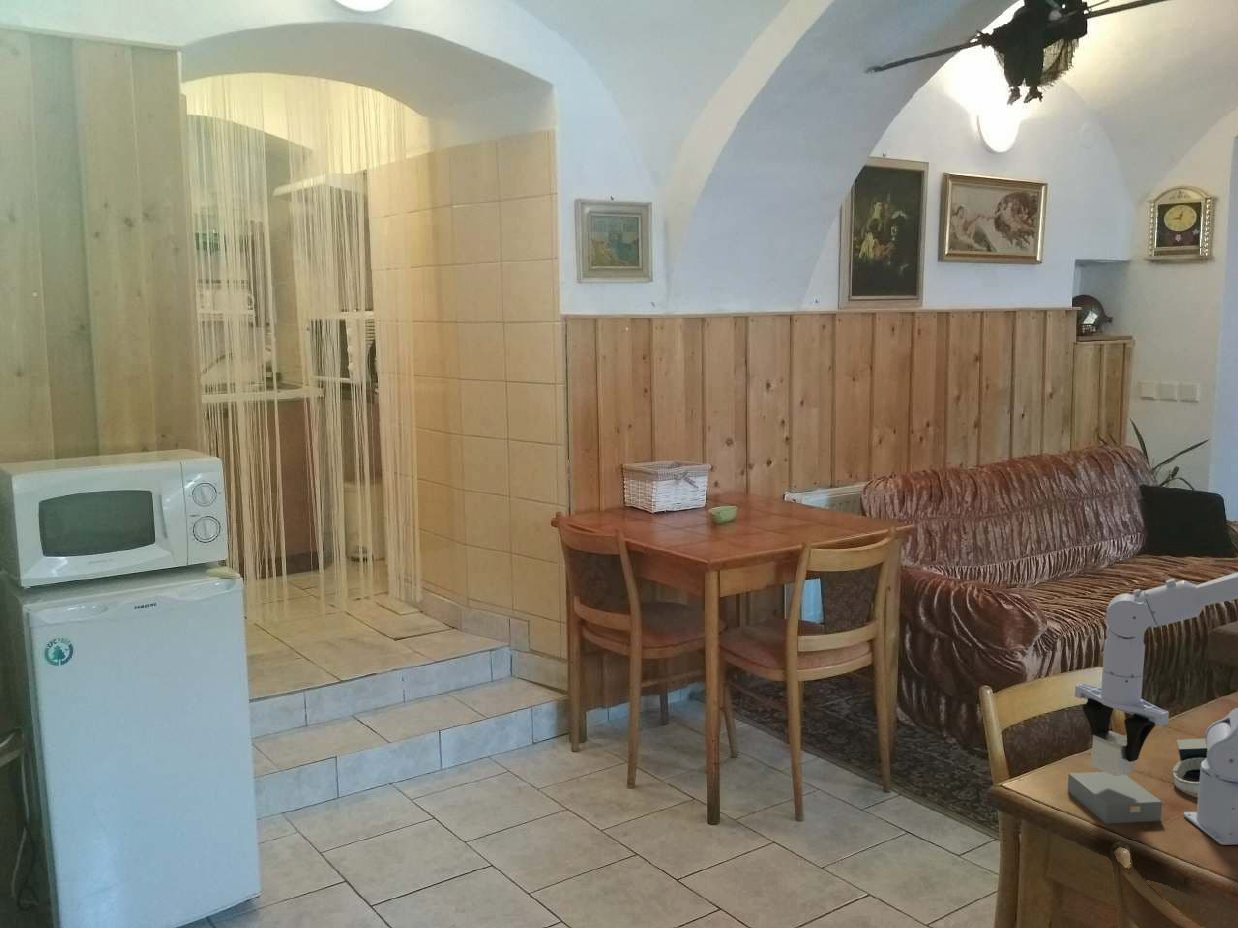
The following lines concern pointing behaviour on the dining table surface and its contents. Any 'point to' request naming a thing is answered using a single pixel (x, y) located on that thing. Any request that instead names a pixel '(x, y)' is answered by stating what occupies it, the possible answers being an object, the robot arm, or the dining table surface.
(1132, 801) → the watch box
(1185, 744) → the watch
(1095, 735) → the tea tin
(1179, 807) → the dining table surface
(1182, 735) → the dining table surface
